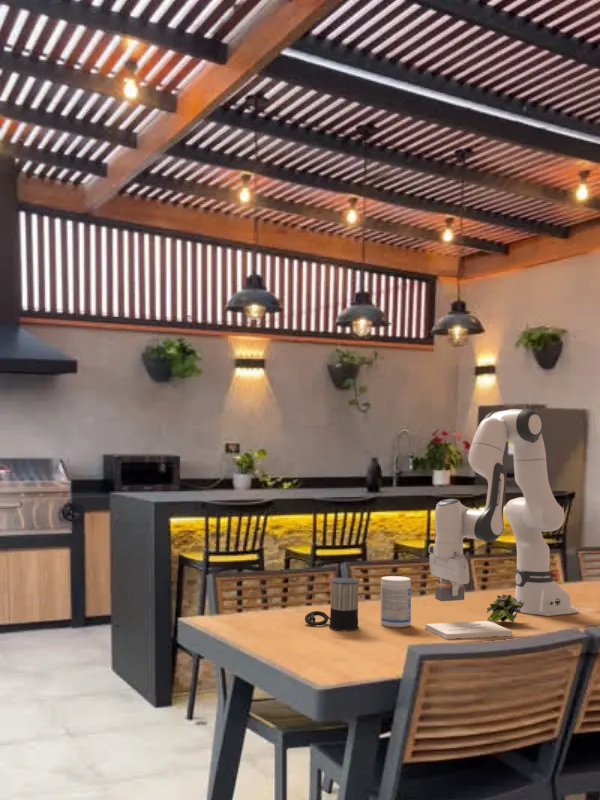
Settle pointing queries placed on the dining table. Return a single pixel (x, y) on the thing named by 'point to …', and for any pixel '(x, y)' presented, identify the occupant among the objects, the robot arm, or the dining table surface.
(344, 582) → the milk frother
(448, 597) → the block
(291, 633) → the dining table surface
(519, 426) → the robot arm
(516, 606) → the green leafy plant
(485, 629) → the board
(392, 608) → the supplement tub
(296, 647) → the dining table surface
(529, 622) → the dining table surface
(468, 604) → the dining table surface
